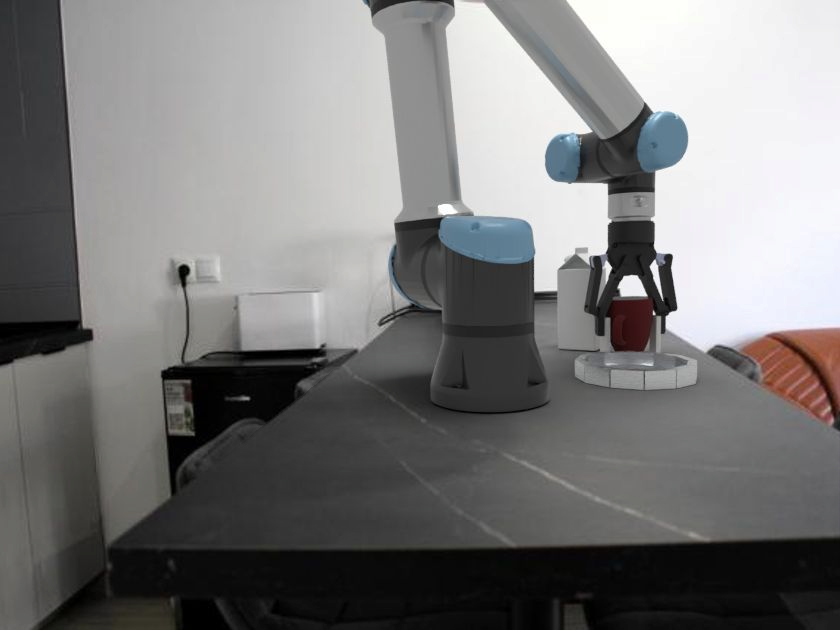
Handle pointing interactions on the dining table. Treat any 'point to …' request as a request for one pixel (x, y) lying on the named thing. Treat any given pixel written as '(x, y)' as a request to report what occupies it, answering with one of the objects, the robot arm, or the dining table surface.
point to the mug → (630, 322)
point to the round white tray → (636, 370)
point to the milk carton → (576, 303)
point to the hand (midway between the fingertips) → (630, 354)
